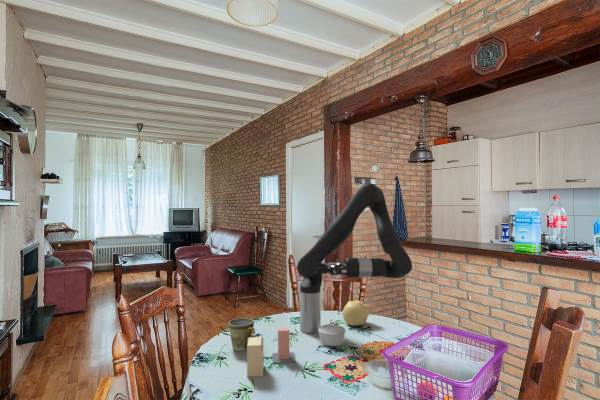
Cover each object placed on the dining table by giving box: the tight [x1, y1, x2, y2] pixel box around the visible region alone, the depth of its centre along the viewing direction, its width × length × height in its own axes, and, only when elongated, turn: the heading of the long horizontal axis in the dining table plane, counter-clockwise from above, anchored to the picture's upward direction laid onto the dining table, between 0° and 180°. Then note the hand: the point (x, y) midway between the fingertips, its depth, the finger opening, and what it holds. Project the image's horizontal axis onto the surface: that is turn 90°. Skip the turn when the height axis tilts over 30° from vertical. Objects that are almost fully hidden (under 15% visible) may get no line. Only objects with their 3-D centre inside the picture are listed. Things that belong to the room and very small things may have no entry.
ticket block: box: [246, 336, 267, 378], centre depth 111 cm, size 6×7×10 cm
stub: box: [277, 327, 290, 359], centre depth 122 cm, size 4×3×10 cm
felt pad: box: [272, 351, 296, 365], centre depth 121 cm, size 8×8×1 cm
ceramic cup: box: [228, 317, 256, 351], centre depth 131 cm, size 13×10×10 cm
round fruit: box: [342, 300, 370, 326], centre depth 159 cm, size 11×12×11 cm
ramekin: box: [317, 324, 346, 347], centre depth 137 cm, size 11×11×5 cm
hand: (315, 268), depth 125 cm, fingers open, 8 cm apart
